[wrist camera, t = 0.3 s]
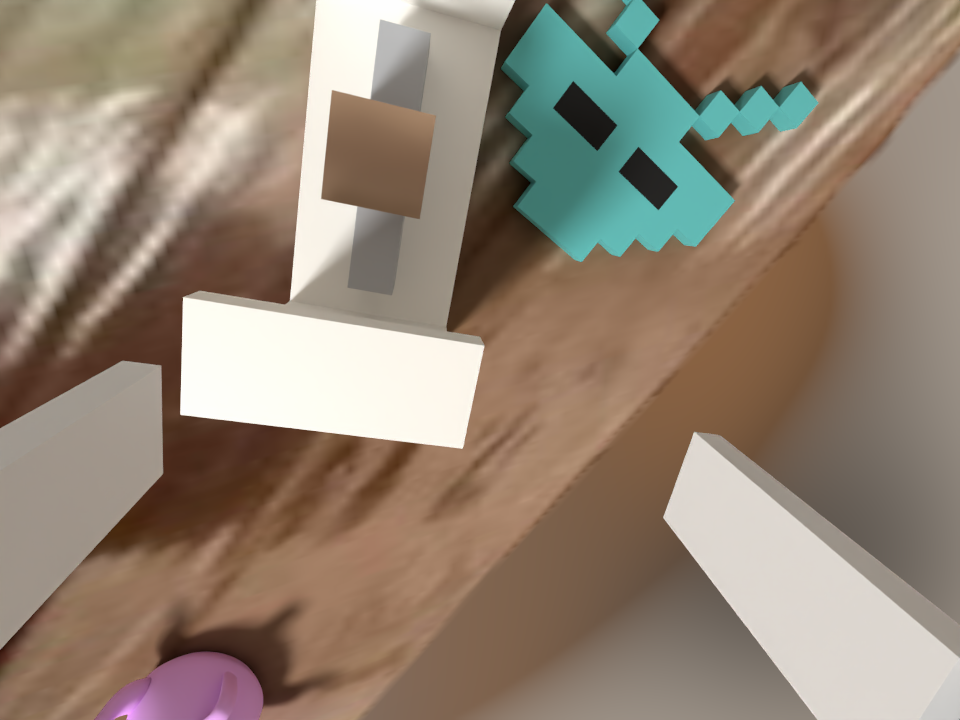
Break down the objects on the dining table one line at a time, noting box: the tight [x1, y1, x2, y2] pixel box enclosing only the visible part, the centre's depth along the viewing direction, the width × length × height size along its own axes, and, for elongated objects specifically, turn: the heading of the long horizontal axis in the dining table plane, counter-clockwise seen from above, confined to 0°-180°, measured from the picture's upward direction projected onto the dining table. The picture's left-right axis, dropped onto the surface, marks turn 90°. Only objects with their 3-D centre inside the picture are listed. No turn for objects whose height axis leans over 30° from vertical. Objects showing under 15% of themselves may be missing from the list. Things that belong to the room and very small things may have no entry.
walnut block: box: [321, 90, 436, 219], centre depth 27 cm, size 5×5×7 cm
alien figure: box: [501, 0, 818, 262], centre depth 35 cm, size 20×2×20 cm
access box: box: [180, 0, 515, 449], centre depth 26 cm, size 24×12×18 cm, turn 168°
